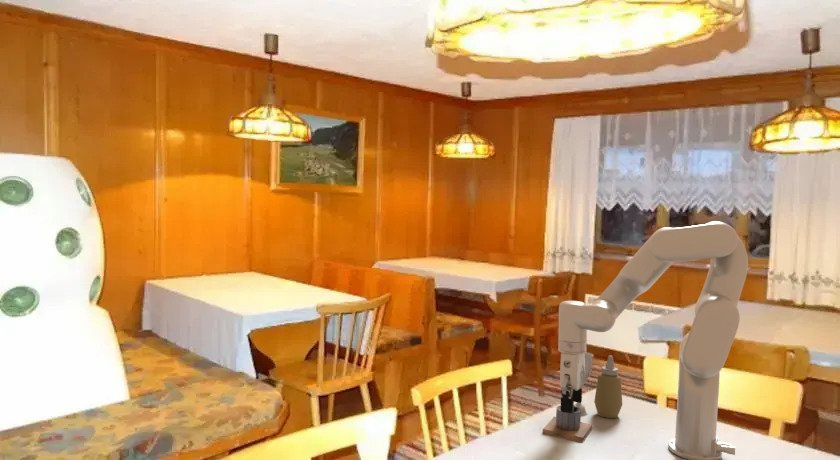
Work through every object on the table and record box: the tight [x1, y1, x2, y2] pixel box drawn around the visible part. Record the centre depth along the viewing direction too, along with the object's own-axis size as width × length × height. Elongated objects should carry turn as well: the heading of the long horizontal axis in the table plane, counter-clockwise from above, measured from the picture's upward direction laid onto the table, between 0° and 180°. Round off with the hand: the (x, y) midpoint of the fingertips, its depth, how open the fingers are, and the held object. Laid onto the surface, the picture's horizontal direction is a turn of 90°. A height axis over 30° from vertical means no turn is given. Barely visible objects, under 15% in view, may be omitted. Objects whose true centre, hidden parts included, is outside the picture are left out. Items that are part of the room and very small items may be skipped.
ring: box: [555, 404, 582, 431], centre depth 168 cm, size 6×6×5 cm
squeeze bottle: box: [593, 355, 623, 419], centre depth 181 cm, size 8×8×18 cm
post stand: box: [542, 402, 593, 443], centre depth 168 cm, size 11×11×8 cm
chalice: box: [574, 351, 595, 417], centre depth 182 cm, size 7×7×18 cm
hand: (571, 406), depth 167 cm, fingers open, 9 cm apart
